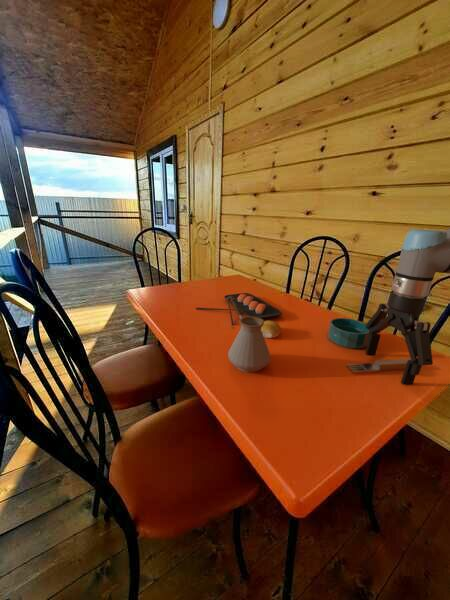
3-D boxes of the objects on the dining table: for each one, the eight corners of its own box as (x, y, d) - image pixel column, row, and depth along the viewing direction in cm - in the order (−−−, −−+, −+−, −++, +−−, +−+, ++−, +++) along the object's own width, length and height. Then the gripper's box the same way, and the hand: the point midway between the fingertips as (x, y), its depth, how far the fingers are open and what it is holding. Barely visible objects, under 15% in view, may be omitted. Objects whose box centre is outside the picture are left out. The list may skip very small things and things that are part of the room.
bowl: (352, 331, 91) (355, 317, 89) (376, 349, 80) (380, 333, 78) (320, 332, 89) (323, 318, 88) (340, 350, 78) (343, 334, 76)
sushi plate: (284, 318, 101) (286, 309, 100) (215, 330, 89) (215, 320, 87) (248, 296, 126) (249, 288, 124) (190, 303, 113) (190, 294, 112)
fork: (407, 363, 72) (409, 357, 72) (416, 370, 69) (418, 363, 69) (346, 366, 70) (347, 360, 69) (353, 373, 67) (354, 367, 66)
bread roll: (282, 330, 90) (283, 319, 89) (276, 341, 83) (278, 329, 81) (259, 325, 93) (260, 315, 92) (252, 335, 86) (253, 324, 84)
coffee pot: (277, 372, 66) (283, 319, 61) (237, 380, 63) (240, 325, 58) (244, 335, 85) (247, 293, 80) (211, 340, 81) (212, 296, 77)
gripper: (362, 280, 74) (347, 345, 81) (442, 313, 51) (411, 400, 58) (385, 280, 75) (369, 344, 82) (474, 313, 52) (440, 398, 59)
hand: (386, 367), depth 70 cm, fingers open, 13 cm apart
